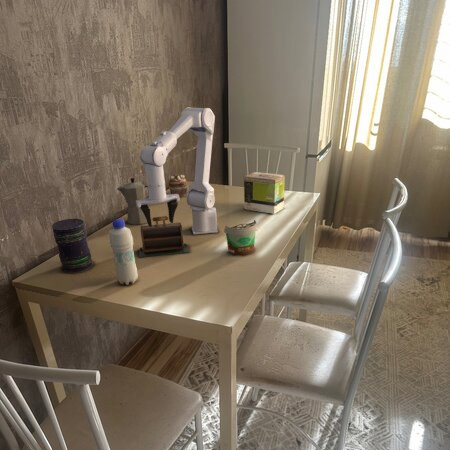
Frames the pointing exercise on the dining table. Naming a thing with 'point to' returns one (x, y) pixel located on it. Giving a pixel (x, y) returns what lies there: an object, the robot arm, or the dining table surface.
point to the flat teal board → (163, 252)
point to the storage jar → (72, 245)
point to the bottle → (123, 252)
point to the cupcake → (178, 185)
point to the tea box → (264, 192)
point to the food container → (241, 238)
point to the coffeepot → (134, 201)
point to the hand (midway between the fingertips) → (160, 224)
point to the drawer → (162, 236)
